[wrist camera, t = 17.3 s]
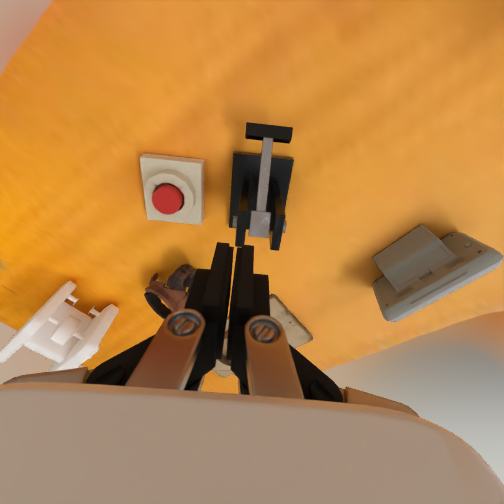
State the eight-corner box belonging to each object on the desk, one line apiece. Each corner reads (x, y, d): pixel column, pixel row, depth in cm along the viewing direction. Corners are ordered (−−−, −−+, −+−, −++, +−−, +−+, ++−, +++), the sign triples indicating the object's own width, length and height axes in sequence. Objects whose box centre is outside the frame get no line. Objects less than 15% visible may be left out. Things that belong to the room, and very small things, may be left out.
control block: (145, 152, 36) (133, 160, 32) (204, 159, 36) (198, 167, 33) (152, 213, 40) (142, 225, 37) (204, 218, 41) (199, 230, 37)
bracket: (234, 151, 35) (224, 177, 25) (292, 157, 36) (306, 186, 26) (229, 224, 41) (220, 268, 31) (279, 229, 42) (287, 274, 32)
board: (223, 376, 63) (221, 389, 61) (177, 343, 57) (173, 356, 54) (313, 336, 55) (316, 349, 52) (272, 292, 49) (273, 304, 46)
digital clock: (370, 291, 48) (396, 339, 39) (350, 257, 44) (374, 302, 35) (466, 249, 43) (521, 293, 34) (453, 207, 39) (512, 244, 30)
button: (154, 182, 34) (150, 187, 33) (182, 185, 34) (179, 190, 33) (157, 208, 36) (153, 213, 35) (183, 210, 36) (180, 216, 35)
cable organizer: (76, 271, 47) (28, 321, 37) (126, 304, 51) (95, 357, 41) (37, 310, 52) (-13, 362, 42) (86, 337, 56) (50, 390, 47)
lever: (246, 128, 30) (246, 120, 27) (289, 133, 30) (293, 125, 28) (236, 233, 31) (235, 234, 29) (278, 237, 31) (281, 239, 29)
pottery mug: (208, 303, 51) (179, 334, 46) (172, 275, 53) (139, 302, 47) (219, 265, 42) (184, 299, 37) (175, 234, 44) (135, 262, 39)
